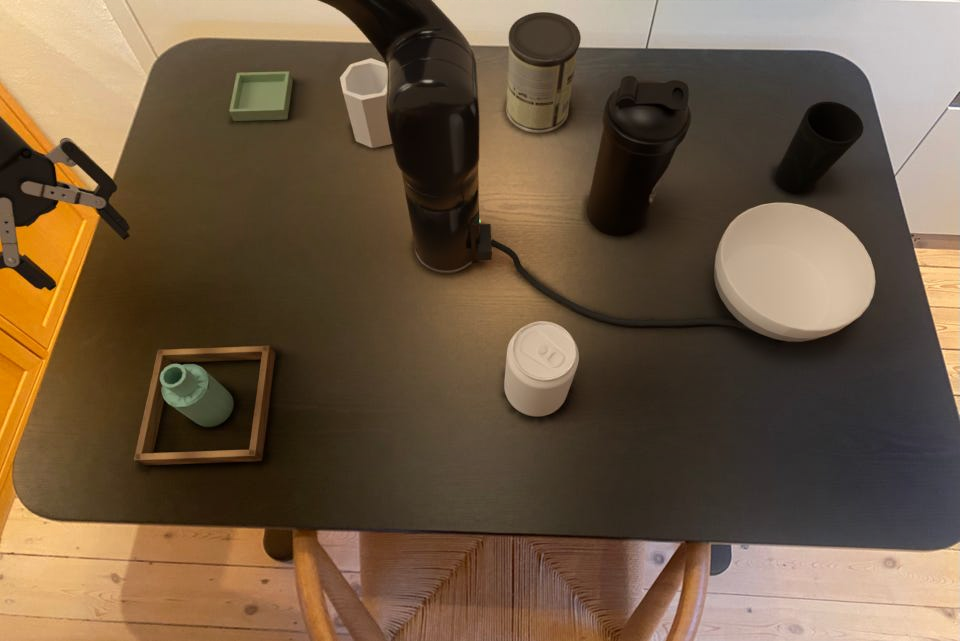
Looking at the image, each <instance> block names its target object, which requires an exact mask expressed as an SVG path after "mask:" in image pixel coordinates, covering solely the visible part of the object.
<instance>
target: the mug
mask: <svg viewBox="0 0 960 641" xmlns="http://www.w3.org/2000/svg"><path fill="white" fill-rule="evenodd" d="M387 75H388V70H387V67H386V64H385V62H384V61H380V60H377V59H375V58H372V57H370V58H366V59H363V60H361V61H357V62H354V63H350V64H349V65H348V66H347V68H346V69H345V70H344V72H343V73H342V74H341V76H340V77H339V81H340V86H341V90H342V95H343V97H344V102H345V105H346V109H347V110H346V111H347V113H348V118H349V121H350V124H351V128H352V132H353V136H354V141H355V142H356V143H358V144H362V145H363V146H366V147H369V148H371V149H376V148H380V147H383V146H389V145H392V140H391V136H390V131H389V126H388V120H387V112H386V97H387Z"/></svg>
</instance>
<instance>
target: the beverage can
mask: <svg viewBox="0 0 960 641" xmlns="http://www.w3.org/2000/svg"><path fill="white" fill-rule="evenodd" d="M579 361H580V353H579V349H578V346H577V342H576V341H575V339H574V338H573V336H572V335H571V334H570V332H569V331H568V330H567V329H565V328H564V327H563V326H561V325H559V324H558V323H555V322H552V321H548V320H547V321H546V320H539V321H538V320H537V321H534V322H530V323H528V324H526V325H524V326H522V327H520V329H519V330H517V331H516V332H515V333H514V334H513V336H512V337H511V338H510V340H509V343H508V345H507V349H506V359H505V370H504V381H503V383H504V384H503V388H504V393H505V397H506V398H507V400H508V402H509V404H510V405H511V406H512V407H513V408H514V409H515V410H517V411H518V412H520V413H521V414H524V415H526V416H530V417H545V416H549V415H551V414H553V413H555V412H556V411H557V410H559V409H560V408H561V407H562V405H563V404H564V403H565V401H566V399H567V397H568V394H569V391H570V388H571V386H572V384H573V380H574V377H575V374H576V372H577V369H578V366H579Z"/></svg>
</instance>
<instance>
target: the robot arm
mask: <svg viewBox="0 0 960 641" xmlns="http://www.w3.org/2000/svg"><path fill="white" fill-rule="evenodd" d="M317 1H318V2H320V3H323V4H326V5H328V6H330V7H332V8H333V9H335V10H337V11H338V12H340V13H341V14H343V15H344V16H345V17H346V18H347V19H349V21H351V23H352V24H354V25H355V26H356V28H357V29H358V30H359V31H361V33H362V34H363V35H364V37H365V38H366V39H367V40H368V41H369V42H370V43H371V45H372V46H373V47H374V49H375V50H376V51H377V53H378V54H379V56H380V57H381V59H382V60H383V63H385V64H386V67H387V70H388V75H387V97H386V112H387V120H388V126H389V131H390V136H391V140H392V144H391V146H392V148H393V154H394V159H395V162H396V165H397V167H398V169H399V170H400V171H401V177H402V183H403V189H404V194H405V201H406V204H407V205H406V206H407V211H408V217H409V222H410V228H411V233H412V238H413V247H414V253H415V256H416V258H417V260H418V262H419V264H420V263H421V265H422V266H423V267H424V268H426V269H428V270H430V271H431V272H434V273H437V274H443V275H445V274H446V275H448V274H449V275H450V274H451V275H452V274H455V273H459V272H461V271H464V270H466V269H468V268H469V267H470V266H472V265H474V264H479V263H481V262H482V261H483V262H484V261H492V260H493V248H494V249H496V250H499V251H501V252H503V253H504V254H506V255H507V256H508V257H509V258H510V259H511V260H512V262H513V265H514V267H515V268H516V270H517V272H518V273H519V274H520V275H521V277H523V279H525V280H526V281H527V282H529V284H530V285H531V286H532V287H534V288H536V290H538V291H540V292H541V293H542V294H545V295H546V296H548V297H549V298H551V299H553V300H554V301H556V302H558V303H560V304H562V305H563V306H565V307H567V308H569V309H571V310H573V311H574V312H577V313H578V314H581V315H584V316H585V317H589V318H591V319H593V320H597V321H600V322H604V323H608V324H612V325H618V326H624V327H687V326H688V327H690V326H709V325H710V326H724V327H731V328H738V329H742V330H746V331H749V332H753V333H756V332H755V331H753V330H752V329H750V328H748V327H746V326H745V325H744V324H742V323H741V322H740V321H739V320H737V319H736V320H735V319H728V318H719V317H717V318H715V317H701V318H699V317H698V318H685V319H683V318H681V319H629V318H621V317H616V316H611V315H606V314H603V313H599V312H596V311H594V310H591V309H588V308H586V307H584V306H581V305H579V304H578V303H575V302H573V301H571V300H570V299H568V298H566V297H564V296H562V295H561V294H559V293H557V292H555V291H554V290H552V289H550V288H549V287H547V286H545V285H544V284H542V283H541V282H540V281H538V280H537V279H536V278H535V277H534V276H532V275H531V274H530V273H529V271H528V270H526V268H524V266H523V265H522V263H521V260H520V257H519V255H518V254H517V253H516V252H515V250H513V249H512V248H511V247H510V246H507V245H506V244H503V243H501V242H499V241H498V240H496V239H492V224H491V223H481V219H480V195H479V194H480V191H479V188H480V186H479V184H480V183H479V182H480V181H479V179H480V178H479V176H480V174H479V165H480V164H479V162H480V102H479V84H478V82H479V81H478V69H477V68H478V67H477V61H476V57H475V54H474V51H473V48H472V46H471V44H470V42H469V41H468V40H467V37H466V36H465V35H464V34H463V33H462V32H461V30H460V29H459V28H458V27H457V25H456V24H455V23H454V22H453V21H452V20H451V19H450V17H448V16H447V15H446V14H445V13H444V12H443V10H442V9H441V8H440V7H439V6H438V5H437V4H436V2H434V1H433V0H317ZM57 163H60V164H63V165H65V166H67V167H70V168H72V167H75V166H77V167H79V168H80V169H81V170H82V171H83V172H84V174H86V175H88V177H89V178H90V179H91V180H93V181H94V182H95V183H96V184H97V185H96V187H95V189H94V190H93V189H88V188H84V187H81V186H78V185H75V184H72V183H68V182H64V181H60V180H58V177H57V170H56V165H55V164H57ZM117 190H118V185H117V183H115V181H114V179H113V178H112V177H111V176H110V175H109V174H108V173H107V172H106V171H105V170H104V169H103V168H102V167H101V166H99V165H98V163H96V162H95V161H94V160H93V159H92V158H91V157H90V155H88V153H87V152H85V151H84V150H83V149H82V148H81V147H80V146H79V145H78V144H77V143H76V142H75V141H73V139H71V138H69V137H63V138H61V139H60V140H59V144H58V145H57V146H55V147H54V148H52V149H51V150H50V151H48V152H47V153H46V154H44V153H41V152H39V151H38V150H36V149H34V148H33V147H32V146H31V145H30V144H29V143H28V142H27V141H26V140H25V139H24V138H23V137H22V136H21V135H20V134H19V133H18V132H17V131H16V130H15V129H14V128H13V127H12V126H11V125H10V124H9V123H8V122H7V121H6V120H5V119H4V118H3V117H2V116H1V115H0V244H1V249H2V250H1V251H0V270H3V269H11V270H13V271H15V272H16V273H17V274H18V275H19V276H20V277H22V278H24V280H26V281H27V282H28V283H29V284H30V285H32V286H33V287H34V288H35V289H38V290H43V289H44V288H45V290H48V291H50V292H51V291H52V290H53V289H56V287H57V282H56V280H55V279H54V278H53V277H52V276H51V275H49V273H47V272H46V271H45V270H44V269H43V268H41V267H40V265H38V264H37V263H36V262H35V261H34V260H32V259H31V258H30V257H29V256H28V255H26V254H22V253H20V249H19V242H18V235H17V234H18V233H17V228H22V227H23V228H24V227H26V228H28V227H30V226H31V225H33V224H34V223H35V222H36V221H37V220H38V219H39V218H40V217H42V216H43V215H46V214H49V213H51V212H52V211H54V210H55V209H57V206H58V204H59V202H64V203H68V204H72V205H81V206H85V207H89V208H93V209H95V211H96V214H97V215H98V216H99V217H100V218H101V219H102V220H103V221H104V222H105V223H106V224H107V225H108V227H110V228H111V229H112V230H113V231H114V232H115V233H116V234H117V235H118V236H119V237H120V238H121V239H122V240H124V241H125V240H127V239H128V238H129V237H130V236H131V235H130V234H129V232H128V231H129V230H130V229H131V227H130V226H129V222H127V220H126V218H124V217H123V216H122V215H121V214H120V213H119V212H118V211H117V209H116V208H115V207H114V206H112V204H111V203H110V198H111V197H112V195H114V193H116V192H117Z"/></svg>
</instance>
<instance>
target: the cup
mask: <svg viewBox="0 0 960 641" xmlns="http://www.w3.org/2000/svg"><path fill="white" fill-rule="evenodd" d="M863 134H864V123H863V120H862V119H861V117H860V115H859V114H858V113H857V112H856V111H855V110H854V109H852V108H851V107H849V106H847V105H845V104H843V103H840V102H836V101H819V102H816V103H814V104H811V105H810V106H809V107H808V108H807V109H806V110H805V113H804V114H803V117H802V119H801V121H800V123H799V125H798V127H797V129H796V131H795V132H794V135H793V137H792V139H791V141H790V143H789V145H788V147H787V149H786V150H785V153H784V154H783V157H782V159H781V161H780V163H779V165H778V167H777V169H776V171H775V174H774V180H775V183H776V185H777V186H778V188H780V189H781V190H782V191H784V192H786V193H789V194H791V195H803V194H806V193H808V192H809V191H810V190H811V189H812V188H813V187H814V186H815V185H816V184H817V183H818V182H819V181H820V180H821V179H822V177H823V176H825V175H826V174H827V173H828V172H829V171H830V170H831V168H832V167H833V166H834V165H835V164H836V163H837V162H838V161H839V160H840V159H841V158H842V157H843V156H844V154H846V152H847V151H848V150H849V149H850V148H851V147H853V145H854V144H855V143H856V142H857V141H859V139H860V138H861V137H862V135H863Z"/></svg>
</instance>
